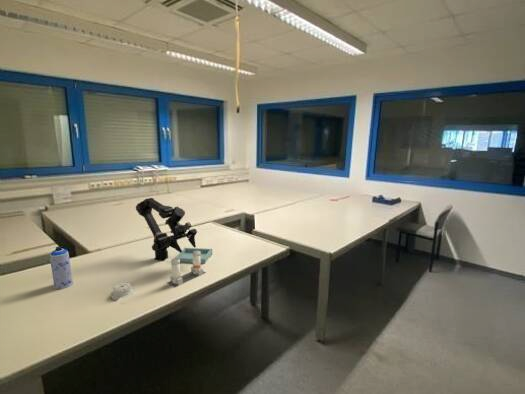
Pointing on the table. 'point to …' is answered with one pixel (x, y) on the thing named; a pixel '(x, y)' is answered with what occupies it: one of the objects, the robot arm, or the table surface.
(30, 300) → the table surface
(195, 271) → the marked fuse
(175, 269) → the fuse
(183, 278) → the fuse holder
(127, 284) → the mechanical component
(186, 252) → the tray
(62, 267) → the aerosol can
